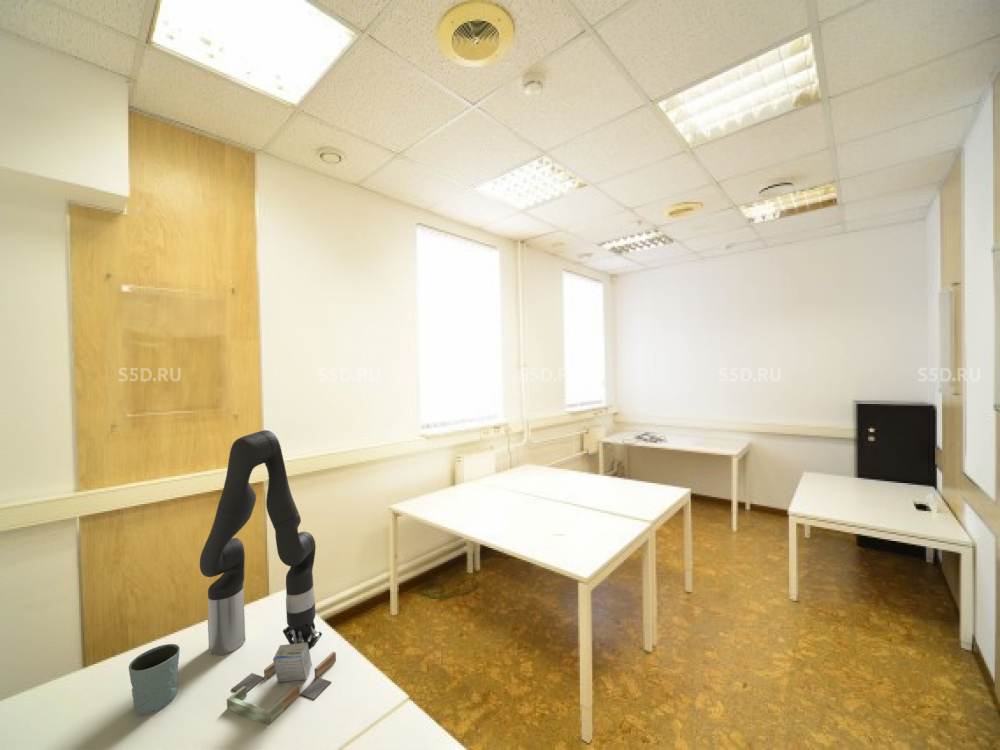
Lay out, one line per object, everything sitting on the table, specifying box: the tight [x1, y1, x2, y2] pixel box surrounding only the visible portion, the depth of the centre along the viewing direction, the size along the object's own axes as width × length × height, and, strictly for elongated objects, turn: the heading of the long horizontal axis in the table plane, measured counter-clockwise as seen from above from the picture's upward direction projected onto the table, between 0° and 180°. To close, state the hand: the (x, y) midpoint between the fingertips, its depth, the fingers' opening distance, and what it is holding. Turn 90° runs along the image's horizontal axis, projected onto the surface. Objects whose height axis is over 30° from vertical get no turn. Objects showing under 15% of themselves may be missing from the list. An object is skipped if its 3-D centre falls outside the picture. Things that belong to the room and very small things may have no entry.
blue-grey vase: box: [128, 643, 181, 717], centre depth 104 cm, size 10×10×12 cm
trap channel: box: [226, 651, 337, 726], centre depth 109 cm, size 24×22×2 cm
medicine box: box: [272, 643, 313, 683], centre depth 111 cm, size 8×4×9 cm, turn 95°
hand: (303, 661), depth 115 cm, fingers closed
